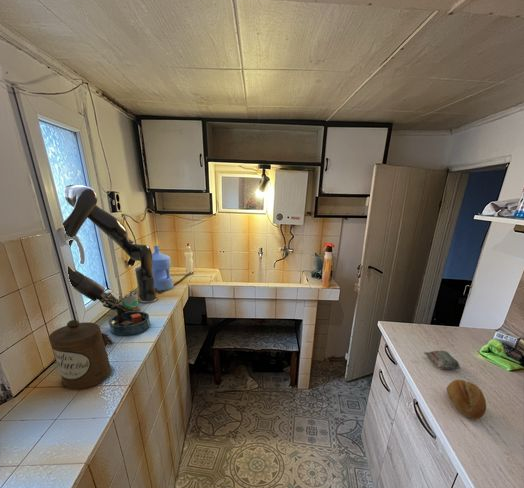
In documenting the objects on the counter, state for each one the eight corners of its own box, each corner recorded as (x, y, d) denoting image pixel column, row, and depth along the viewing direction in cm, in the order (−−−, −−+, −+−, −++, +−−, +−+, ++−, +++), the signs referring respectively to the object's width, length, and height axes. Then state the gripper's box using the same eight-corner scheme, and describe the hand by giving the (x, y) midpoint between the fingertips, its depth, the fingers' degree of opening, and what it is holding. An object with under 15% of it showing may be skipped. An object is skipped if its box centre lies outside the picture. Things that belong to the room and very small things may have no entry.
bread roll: (454, 419, 86) (463, 399, 83) (437, 389, 99) (444, 370, 96) (489, 425, 84) (500, 404, 81) (468, 393, 98) (475, 374, 94)
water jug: (144, 290, 187) (137, 247, 176) (159, 283, 201) (153, 243, 189) (164, 292, 183) (159, 249, 172) (178, 285, 197) (173, 245, 185)
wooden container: (53, 384, 96) (33, 327, 87) (88, 361, 109) (73, 309, 100) (88, 393, 93) (71, 334, 84) (120, 368, 106) (108, 315, 97)
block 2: (140, 320, 143) (138, 313, 141) (142, 323, 140) (141, 315, 138) (131, 322, 140) (130, 315, 139) (134, 325, 138) (133, 317, 136)
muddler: (120, 323, 137) (117, 302, 133) (127, 324, 136) (125, 303, 132) (114, 326, 134) (111, 305, 129) (122, 327, 133) (118, 306, 129)
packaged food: (436, 372, 108) (440, 361, 106) (421, 356, 119) (425, 346, 117) (459, 373, 108) (463, 362, 106) (442, 357, 119) (446, 347, 117)
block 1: (128, 327, 135) (126, 320, 133) (134, 329, 133) (133, 322, 132) (121, 331, 131) (119, 323, 130) (127, 333, 130) (126, 325, 128)
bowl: (120, 320, 144) (118, 311, 142) (155, 320, 145) (153, 311, 143) (103, 336, 128) (101, 326, 126) (142, 336, 129) (141, 326, 127)
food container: (135, 316, 149) (131, 298, 145) (123, 315, 149) (120, 298, 145) (144, 307, 160) (141, 290, 156) (133, 307, 160) (130, 290, 156)
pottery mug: (119, 344, 123) (113, 334, 116) (104, 361, 118) (96, 352, 111) (96, 333, 125) (89, 323, 118) (80, 350, 119) (71, 341, 113)
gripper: (93, 287, 118) (129, 310, 127) (97, 278, 129) (130, 300, 139) (81, 300, 118) (119, 322, 127) (86, 290, 130) (120, 311, 139)
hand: (125, 310), depth 133 cm, fingers closed on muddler, 2 cm apart
